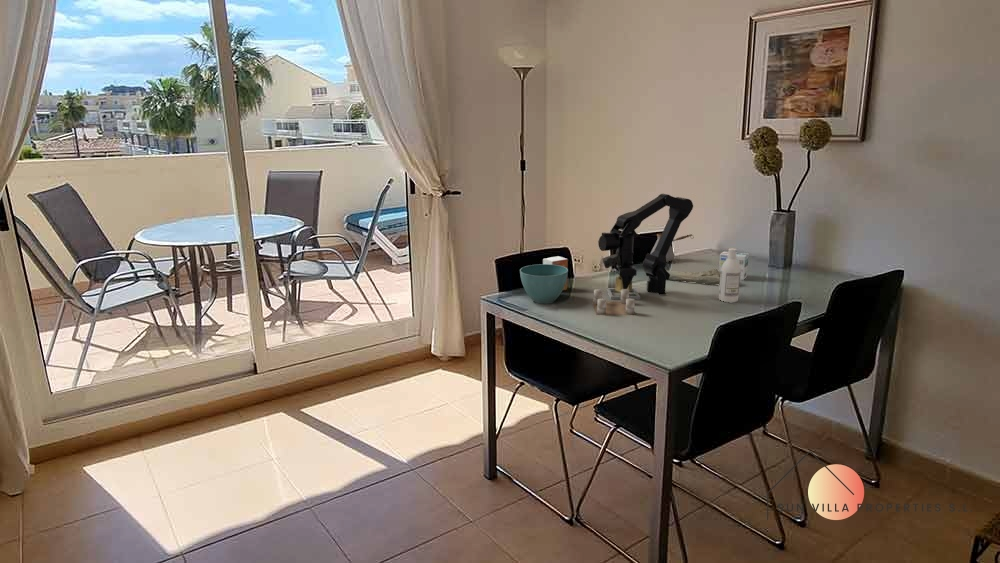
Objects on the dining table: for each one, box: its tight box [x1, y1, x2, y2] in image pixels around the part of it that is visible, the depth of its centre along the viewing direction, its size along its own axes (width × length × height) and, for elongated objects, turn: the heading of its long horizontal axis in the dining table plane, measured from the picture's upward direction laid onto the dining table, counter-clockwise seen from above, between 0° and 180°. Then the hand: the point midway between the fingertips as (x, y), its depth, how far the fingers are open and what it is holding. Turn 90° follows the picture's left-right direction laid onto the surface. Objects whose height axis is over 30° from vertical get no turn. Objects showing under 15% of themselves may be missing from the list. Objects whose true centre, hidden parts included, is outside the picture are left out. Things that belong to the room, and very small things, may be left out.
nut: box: [614, 275, 633, 292], centre depth 240 cm, size 6×6×5 cm
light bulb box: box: [718, 251, 749, 280], centre depth 266 cm, size 11×7×11 cm, turn 58°
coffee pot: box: [649, 233, 694, 263], centre depth 293 cm, size 21×12×15 cm, turn 42°
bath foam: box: [718, 247, 741, 303], centre depth 233 cm, size 7×7×20 cm
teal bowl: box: [519, 263, 569, 304], centre depth 237 cm, size 18×18×12 cm
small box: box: [542, 255, 569, 291], centre depth 251 cm, size 8×6×13 cm
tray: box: [606, 287, 641, 301], centre depth 241 cm, size 11×11×2 cm
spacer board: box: [591, 288, 637, 316], centre depth 225 cm, size 14×16×6 cm
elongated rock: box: [665, 268, 721, 285], centre depth 263 cm, size 35×5×10 cm
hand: (623, 287), depth 240 cm, fingers closed on nut, 5 cm apart
